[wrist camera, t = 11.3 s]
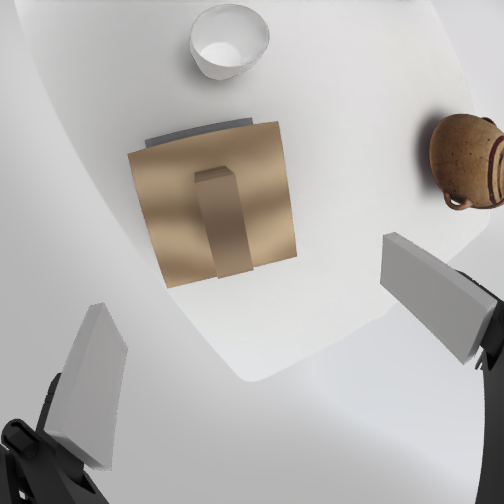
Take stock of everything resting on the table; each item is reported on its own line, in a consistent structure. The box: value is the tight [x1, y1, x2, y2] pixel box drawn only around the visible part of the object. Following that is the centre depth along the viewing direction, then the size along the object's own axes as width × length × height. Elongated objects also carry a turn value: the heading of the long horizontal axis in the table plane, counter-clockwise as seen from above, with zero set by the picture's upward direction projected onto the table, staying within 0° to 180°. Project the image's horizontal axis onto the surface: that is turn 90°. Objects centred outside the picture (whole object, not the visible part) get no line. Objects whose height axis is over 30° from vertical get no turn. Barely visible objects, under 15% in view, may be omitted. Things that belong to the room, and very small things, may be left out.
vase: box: [429, 114, 504, 210], centre depth 33 cm, size 21×18×30 cm
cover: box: [128, 121, 297, 288], centre depth 31 cm, size 15×15×22 cm
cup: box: [189, 4, 269, 80], centre depth 29 cm, size 9×9×12 cm
